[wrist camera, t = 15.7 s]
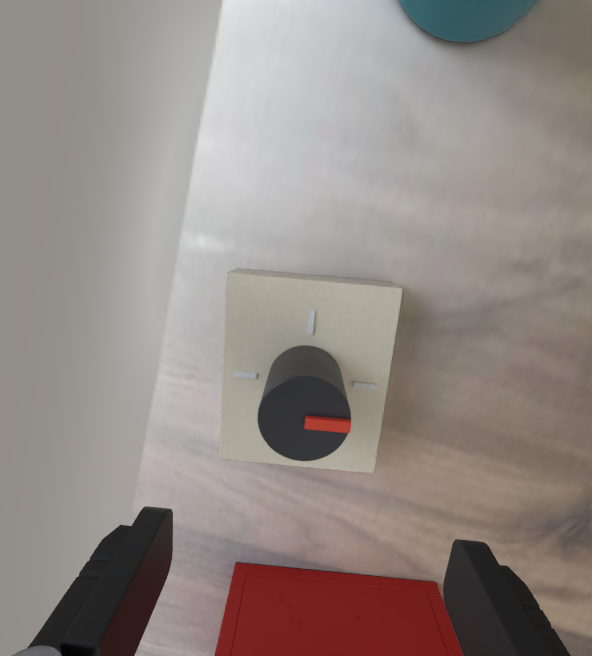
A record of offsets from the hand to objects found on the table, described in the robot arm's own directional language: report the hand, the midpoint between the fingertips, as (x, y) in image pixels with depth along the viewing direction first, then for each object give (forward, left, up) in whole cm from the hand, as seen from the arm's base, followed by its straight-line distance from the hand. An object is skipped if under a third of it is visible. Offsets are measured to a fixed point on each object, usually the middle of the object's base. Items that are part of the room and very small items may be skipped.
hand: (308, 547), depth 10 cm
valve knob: (0, 0, -12) cm, 12 cm away
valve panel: (0, 0, -15) cm, 15 cm away
